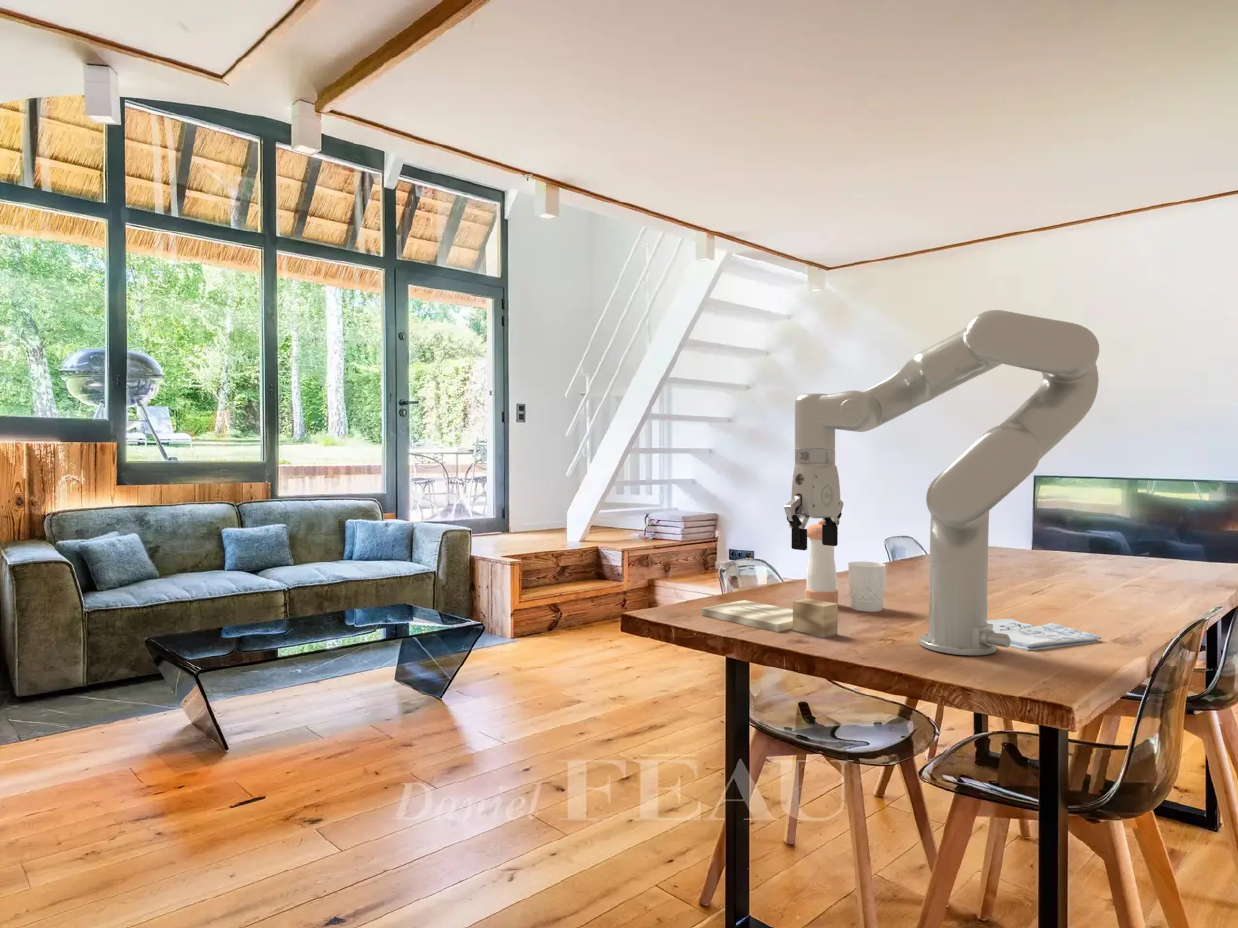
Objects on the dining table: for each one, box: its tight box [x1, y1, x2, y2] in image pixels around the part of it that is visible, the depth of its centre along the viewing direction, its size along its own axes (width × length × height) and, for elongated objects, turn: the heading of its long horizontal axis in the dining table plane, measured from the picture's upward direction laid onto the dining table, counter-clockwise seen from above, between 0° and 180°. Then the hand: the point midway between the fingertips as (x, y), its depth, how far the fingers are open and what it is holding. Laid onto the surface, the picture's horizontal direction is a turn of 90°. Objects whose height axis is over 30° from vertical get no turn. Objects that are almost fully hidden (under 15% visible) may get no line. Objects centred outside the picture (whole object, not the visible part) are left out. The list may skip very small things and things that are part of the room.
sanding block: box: [792, 598, 839, 639], centre depth 150 cm, size 7×4×6 cm, turn 41°
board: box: [700, 599, 793, 633], centre depth 163 cm, size 20×14×2 cm
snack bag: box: [987, 618, 1102, 652], centre depth 150 cm, size 19×20×2 cm
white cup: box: [847, 561, 887, 613], centre depth 173 cm, size 8×8×10 cm
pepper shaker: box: [804, 520, 839, 605], centre depth 177 cm, size 7×7×19 cm
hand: (814, 547), depth 150 cm, fingers open, 9 cm apart
